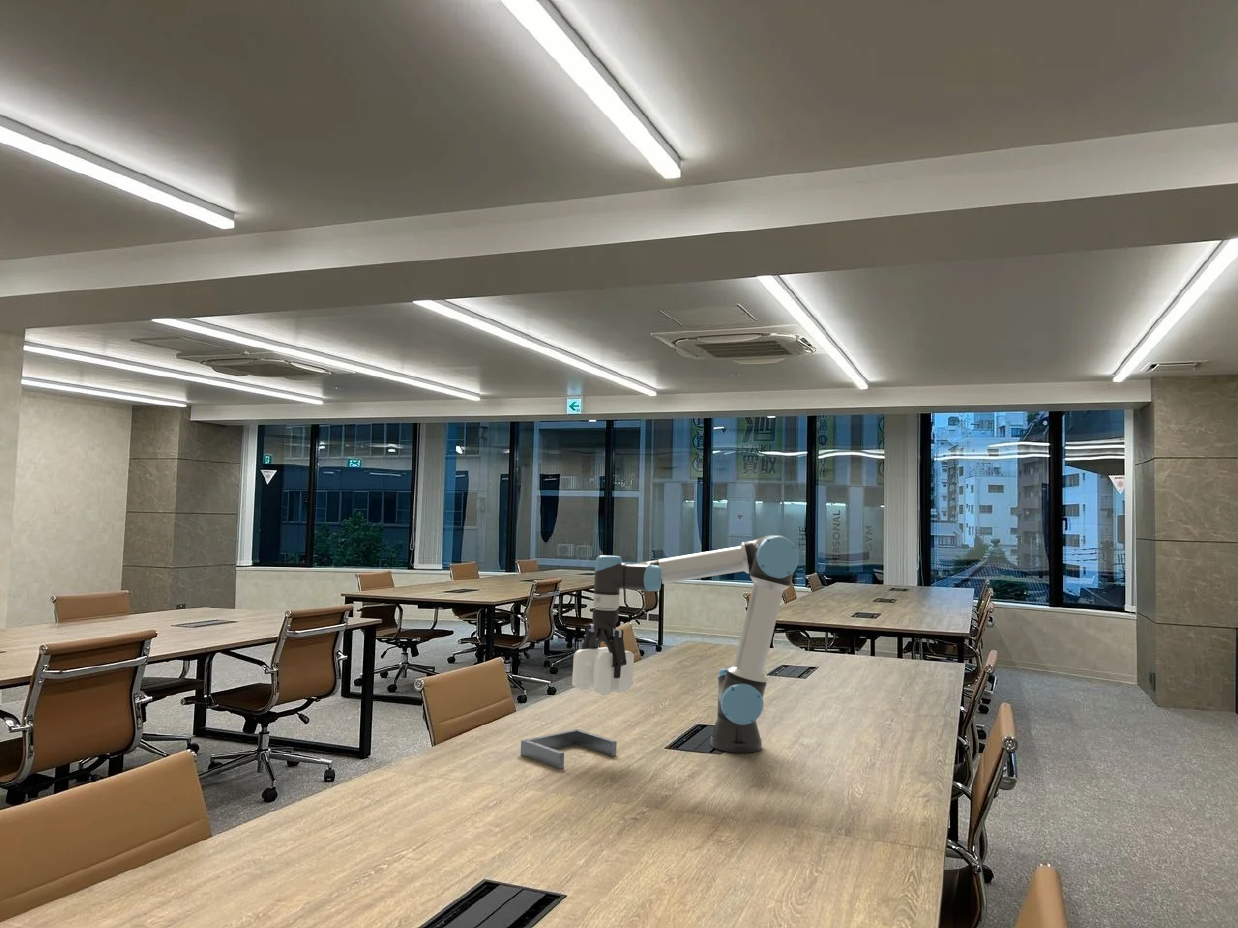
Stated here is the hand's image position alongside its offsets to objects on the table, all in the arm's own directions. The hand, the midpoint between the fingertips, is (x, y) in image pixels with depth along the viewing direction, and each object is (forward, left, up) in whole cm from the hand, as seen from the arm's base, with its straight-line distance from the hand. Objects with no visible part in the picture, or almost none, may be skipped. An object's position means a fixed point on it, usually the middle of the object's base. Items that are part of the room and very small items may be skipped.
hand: (601, 685), depth 242 cm
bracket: (+3, +9, -19) cm, 21 cm away
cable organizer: (0, 0, -2) cm, 2 cm away
